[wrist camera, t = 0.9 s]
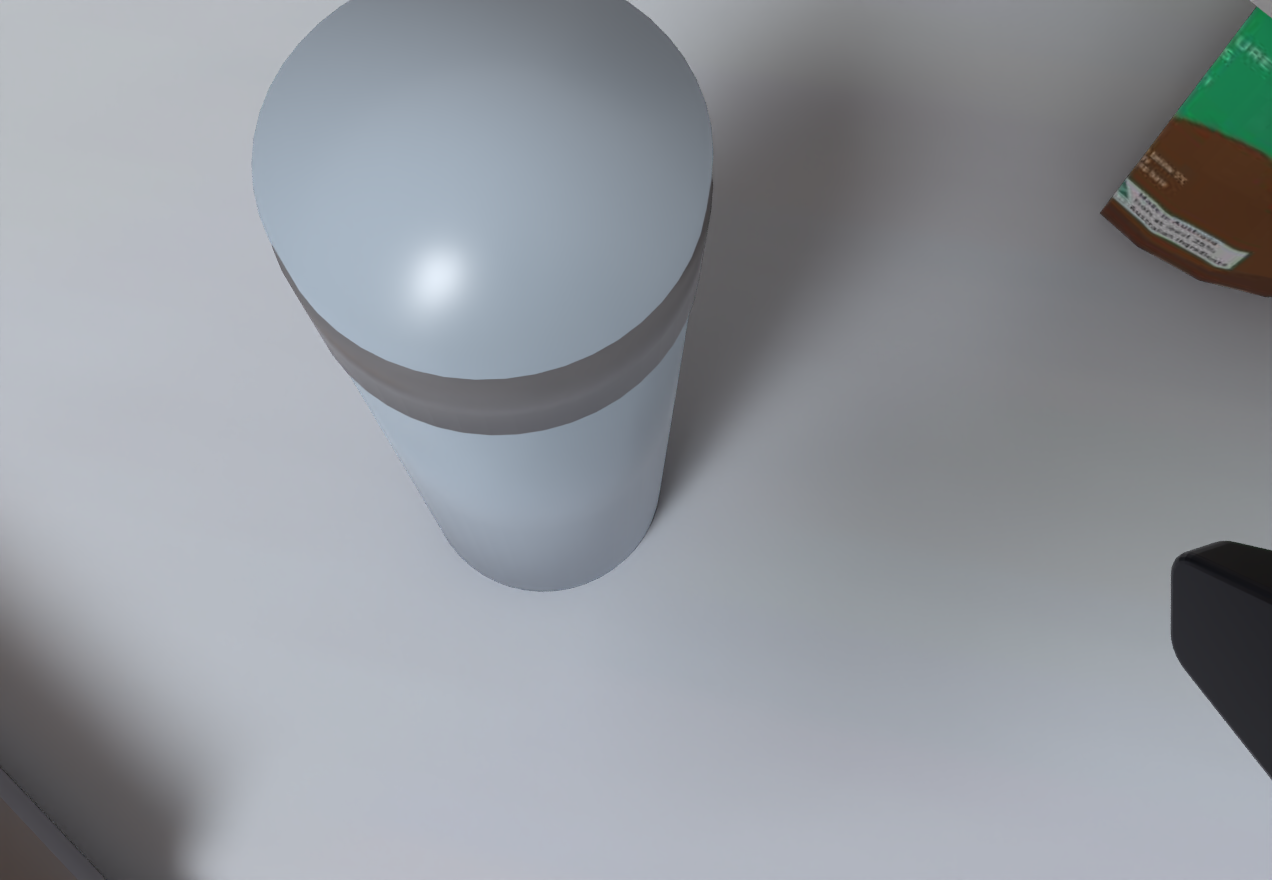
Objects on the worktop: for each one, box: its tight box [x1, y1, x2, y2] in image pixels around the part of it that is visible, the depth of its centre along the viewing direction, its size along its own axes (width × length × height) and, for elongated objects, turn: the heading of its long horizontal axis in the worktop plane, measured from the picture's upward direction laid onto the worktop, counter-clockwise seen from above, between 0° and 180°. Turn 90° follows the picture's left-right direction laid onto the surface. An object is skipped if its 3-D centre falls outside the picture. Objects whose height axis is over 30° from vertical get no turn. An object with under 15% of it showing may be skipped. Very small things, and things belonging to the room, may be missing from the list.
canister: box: [252, 0, 713, 591], centre depth 17 cm, size 5×5×12 cm
